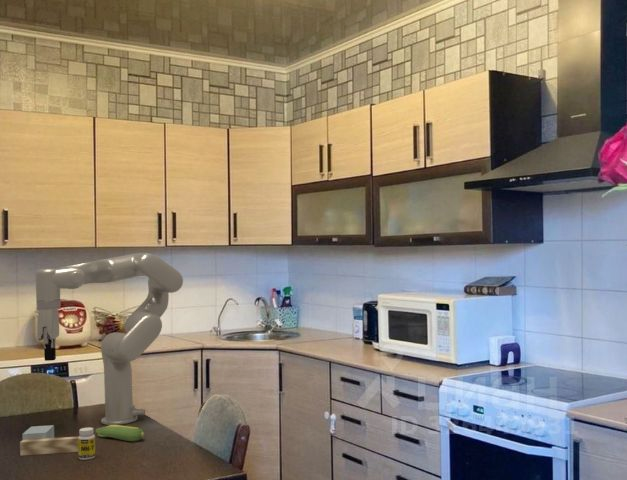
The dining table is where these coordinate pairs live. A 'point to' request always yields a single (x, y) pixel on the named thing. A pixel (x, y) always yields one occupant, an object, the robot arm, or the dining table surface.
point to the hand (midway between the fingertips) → (50, 360)
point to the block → (39, 432)
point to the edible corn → (121, 432)
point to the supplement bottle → (86, 444)
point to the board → (49, 446)
